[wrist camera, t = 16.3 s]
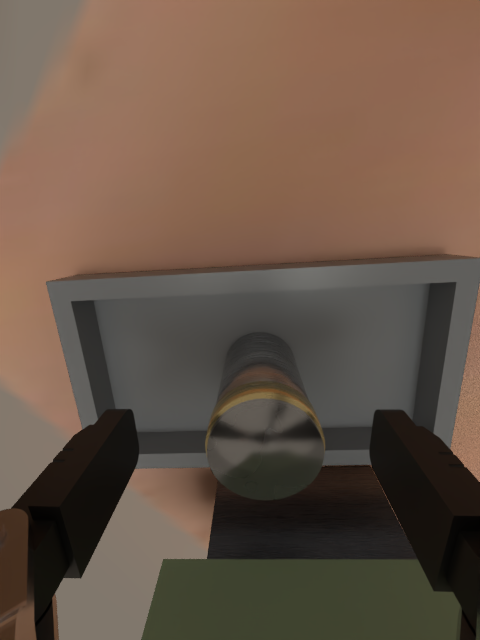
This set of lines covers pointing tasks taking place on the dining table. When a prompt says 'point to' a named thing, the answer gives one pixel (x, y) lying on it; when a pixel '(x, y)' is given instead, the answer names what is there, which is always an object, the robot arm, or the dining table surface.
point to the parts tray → (278, 319)
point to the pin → (263, 422)
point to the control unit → (303, 571)
